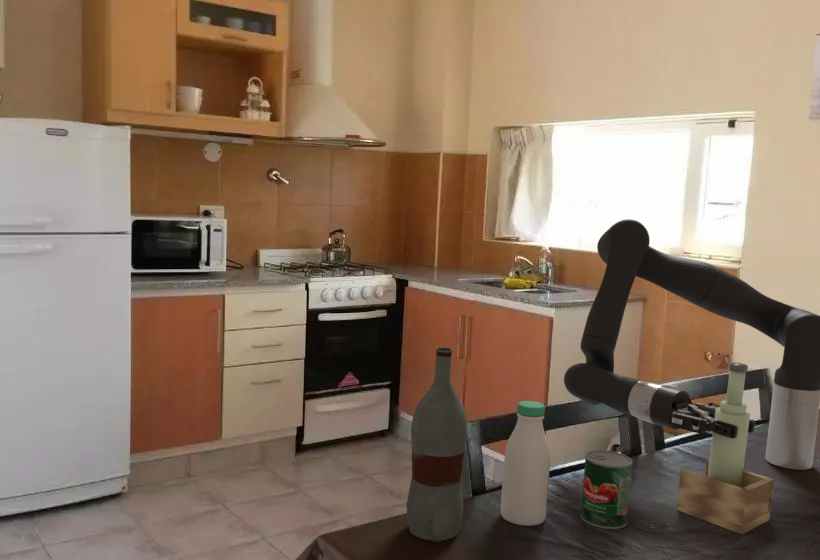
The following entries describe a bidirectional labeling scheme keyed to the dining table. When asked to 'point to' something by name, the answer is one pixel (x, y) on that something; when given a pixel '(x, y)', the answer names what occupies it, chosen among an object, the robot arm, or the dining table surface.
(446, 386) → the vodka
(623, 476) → the canned tomato
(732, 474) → the glass bottle
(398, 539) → the dining table surface
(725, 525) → the cradle
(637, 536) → the dining table surface
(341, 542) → the dining table surface
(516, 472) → the milk bottle
